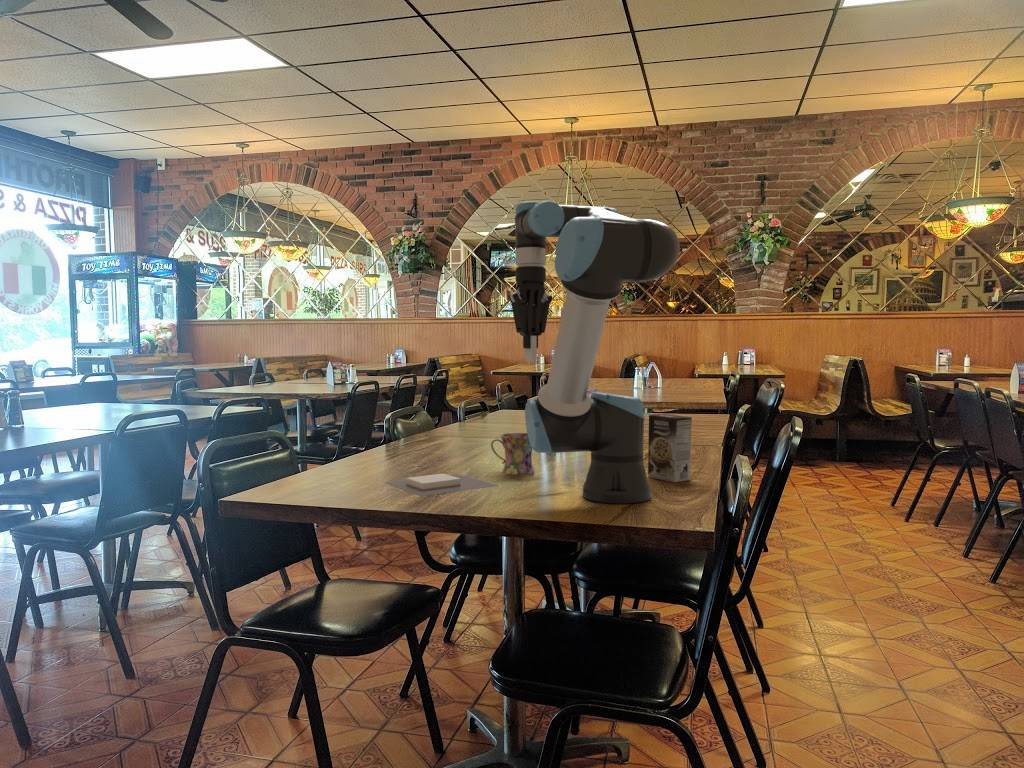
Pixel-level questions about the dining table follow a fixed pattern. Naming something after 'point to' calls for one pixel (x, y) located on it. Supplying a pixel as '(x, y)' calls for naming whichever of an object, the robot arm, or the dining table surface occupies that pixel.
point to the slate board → (466, 484)
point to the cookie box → (669, 447)
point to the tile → (433, 481)
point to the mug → (516, 453)
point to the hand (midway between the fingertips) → (530, 361)
